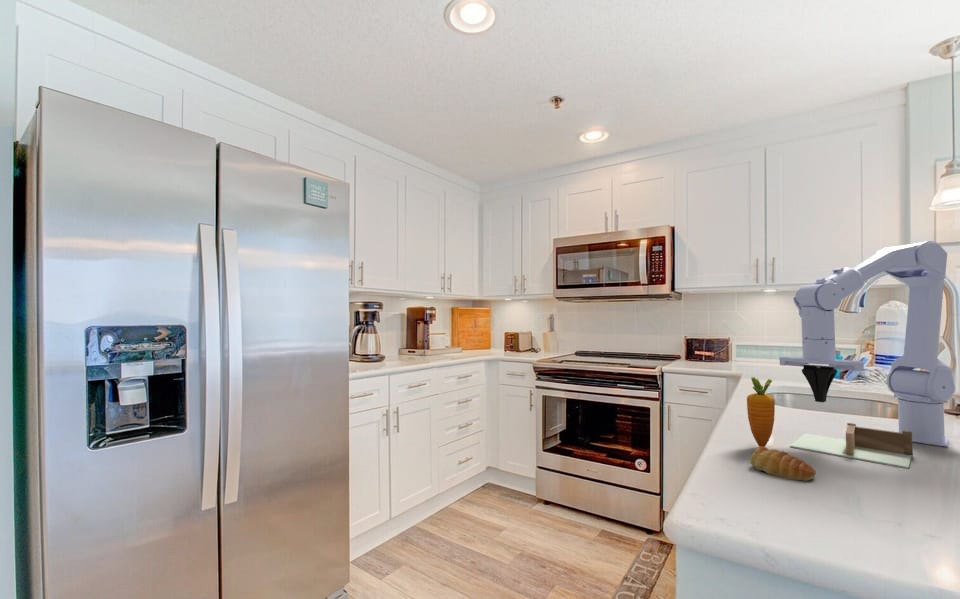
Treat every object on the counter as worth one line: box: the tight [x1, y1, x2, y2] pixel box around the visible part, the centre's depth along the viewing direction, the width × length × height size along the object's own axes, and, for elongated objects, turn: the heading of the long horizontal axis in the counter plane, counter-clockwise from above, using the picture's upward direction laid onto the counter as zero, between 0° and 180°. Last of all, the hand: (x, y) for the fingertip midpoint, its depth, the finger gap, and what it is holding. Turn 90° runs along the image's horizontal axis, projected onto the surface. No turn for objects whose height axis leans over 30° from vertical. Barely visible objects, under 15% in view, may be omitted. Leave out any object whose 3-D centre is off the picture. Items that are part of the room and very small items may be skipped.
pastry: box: [749, 446, 817, 482], centre depth 78 cm, size 9×7×4 cm
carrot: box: [746, 376, 776, 447], centre depth 92 cm, size 5×5×15 cm
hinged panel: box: [845, 424, 855, 454], centre depth 89 cm, size 1×8×4 cm, turn 138°
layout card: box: [789, 432, 913, 470], centre depth 91 cm, size 14×18×1 cm
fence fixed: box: [846, 422, 914, 456], centre depth 90 cm, size 1×10×4 cm, turn 43°
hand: (820, 401), depth 95 cm, fingers closed
